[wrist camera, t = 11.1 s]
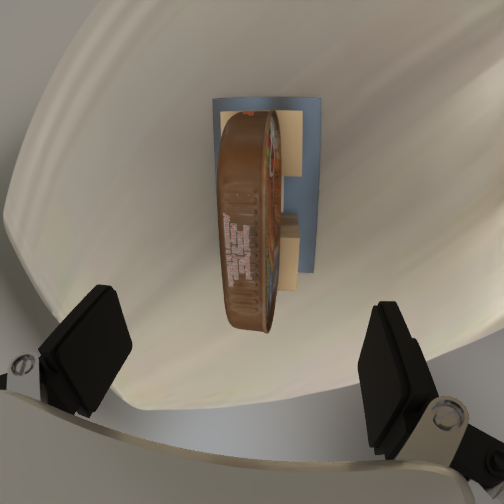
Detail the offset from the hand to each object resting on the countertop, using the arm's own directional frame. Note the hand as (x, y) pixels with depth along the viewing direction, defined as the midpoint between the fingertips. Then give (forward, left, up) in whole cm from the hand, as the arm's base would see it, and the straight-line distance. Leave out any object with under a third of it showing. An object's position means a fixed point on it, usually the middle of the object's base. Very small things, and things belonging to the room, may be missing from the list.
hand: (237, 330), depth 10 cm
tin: (0, 0, -15) cm, 15 cm away
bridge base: (0, 0, -21) cm, 21 cm away
